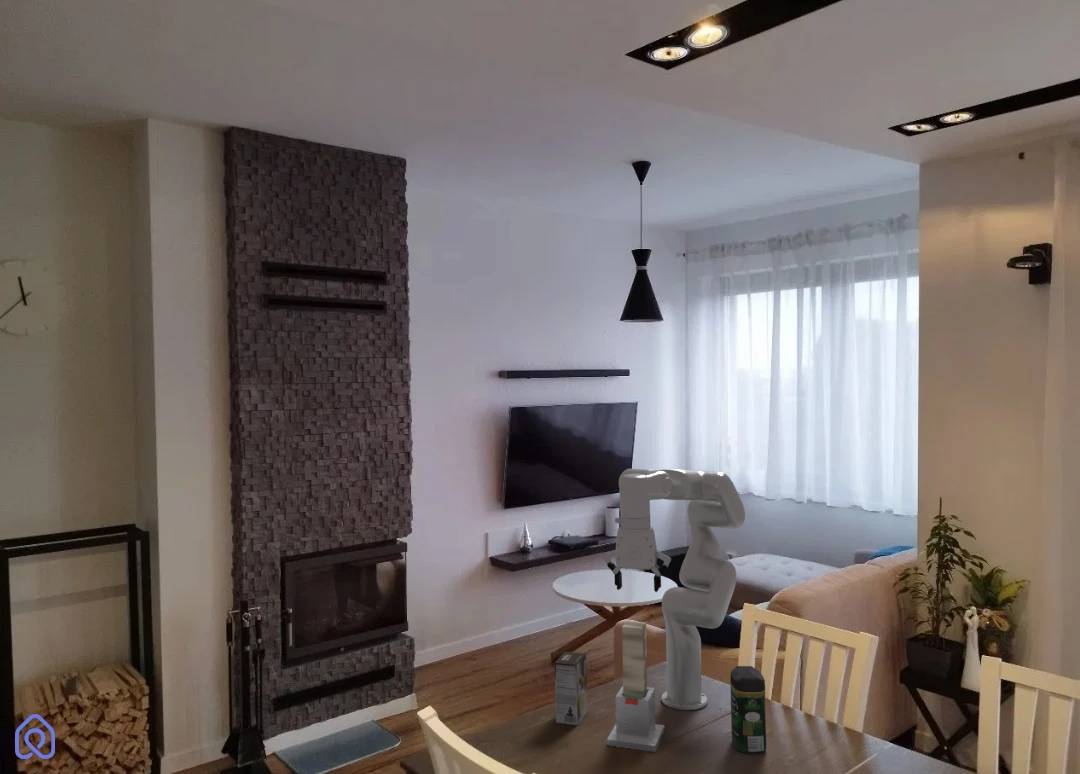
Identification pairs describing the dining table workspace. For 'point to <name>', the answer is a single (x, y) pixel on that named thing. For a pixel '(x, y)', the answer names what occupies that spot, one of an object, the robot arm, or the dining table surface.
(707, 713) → the dining table surface
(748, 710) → the coffee jar
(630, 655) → the post
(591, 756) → the dining table surface
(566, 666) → the coffee box
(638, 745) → the stand
